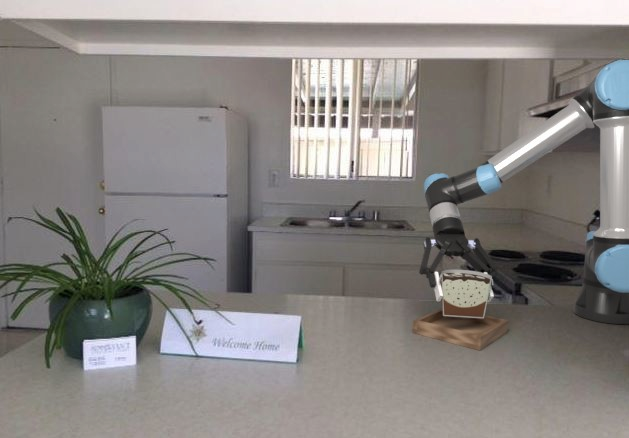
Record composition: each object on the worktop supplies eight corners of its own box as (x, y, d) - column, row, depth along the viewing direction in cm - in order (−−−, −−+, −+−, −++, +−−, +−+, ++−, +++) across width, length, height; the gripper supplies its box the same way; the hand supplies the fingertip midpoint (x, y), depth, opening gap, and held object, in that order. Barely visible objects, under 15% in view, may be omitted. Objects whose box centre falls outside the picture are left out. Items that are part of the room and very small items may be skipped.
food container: (483, 311, 121) (486, 270, 120) (490, 318, 115) (494, 276, 114) (432, 308, 122) (434, 267, 121) (436, 315, 116) (439, 273, 115)
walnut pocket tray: (507, 332, 120) (508, 320, 120) (480, 350, 108) (480, 337, 107) (444, 317, 131) (445, 306, 130) (412, 332, 118) (413, 320, 118)
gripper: (486, 234, 133) (508, 307, 120) (398, 232, 131) (411, 306, 118) (496, 216, 127) (520, 291, 114) (404, 214, 125) (418, 290, 112)
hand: (465, 299), depth 116 cm, fingers closed on food container, 11 cm apart
